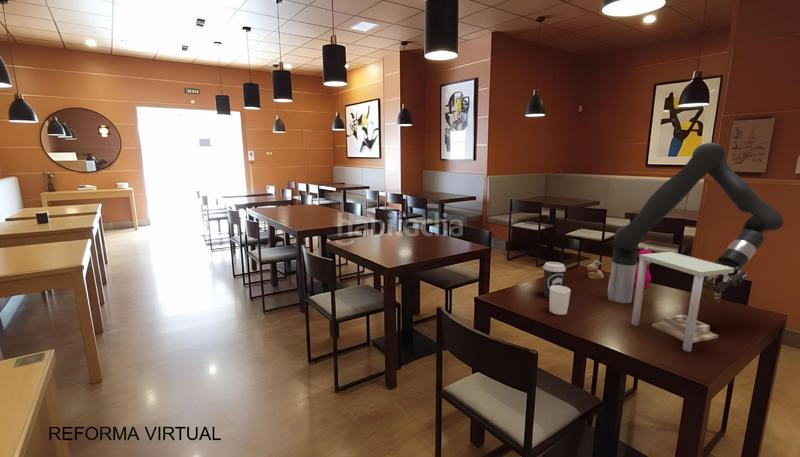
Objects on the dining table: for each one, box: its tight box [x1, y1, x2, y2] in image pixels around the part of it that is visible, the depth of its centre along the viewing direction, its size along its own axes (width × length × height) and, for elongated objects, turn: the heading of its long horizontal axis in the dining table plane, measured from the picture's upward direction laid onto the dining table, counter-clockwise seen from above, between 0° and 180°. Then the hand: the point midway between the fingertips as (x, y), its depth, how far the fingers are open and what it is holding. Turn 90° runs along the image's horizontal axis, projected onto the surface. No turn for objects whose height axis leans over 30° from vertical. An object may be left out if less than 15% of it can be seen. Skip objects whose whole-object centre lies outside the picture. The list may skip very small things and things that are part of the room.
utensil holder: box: [700, 275, 722, 305], centre depth 140 cm, size 6×6×12 cm
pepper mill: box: [633, 246, 653, 289], centre depth 186 cm, size 7×7×20 cm
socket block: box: [651, 314, 719, 343], centre depth 140 cm, size 14×14×4 cm
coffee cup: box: [542, 261, 567, 298], centre depth 174 cm, size 10×10×15 cm
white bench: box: [631, 251, 734, 353], centre depth 136 cm, size 15×22×28 cm
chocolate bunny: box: [586, 259, 605, 280], centre depth 200 cm, size 6×8×10 cm
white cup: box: [548, 285, 572, 316], centre depth 157 cm, size 8×8×10 cm
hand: (708, 288), depth 140 cm, fingers closed on utensil holder, 5 cm apart
